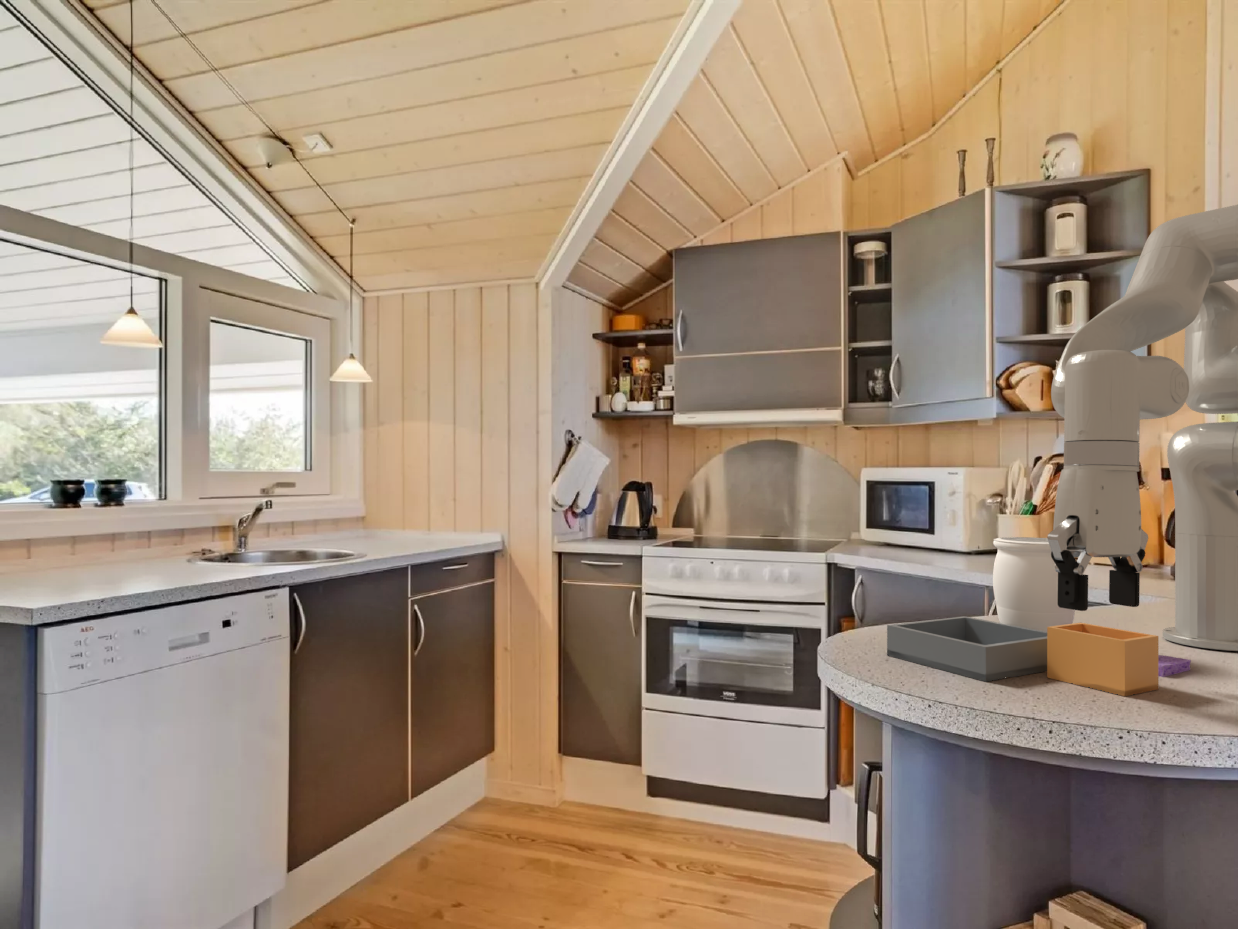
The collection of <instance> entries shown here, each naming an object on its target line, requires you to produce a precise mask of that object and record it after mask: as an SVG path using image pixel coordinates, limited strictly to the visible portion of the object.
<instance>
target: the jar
mask: <svg viewBox="0 0 1238 929" xmlns="http://www.w3.org/2000/svg"><path fill="white" fill-rule="evenodd" d="M992 540H993V541H992V544H993V546H994V547H995V548H996V549H997V553H996V555H995V558H994V564H993V568H992V569H993V570H992V572H993V573H992V586H993V588H992V589H993V596H994V600H995V605H996V608H995V609H996V612H997V613H996V614H997V617H998V620H999V623H1003V624H1008V625H1013V626H1018V627H1024V628H1029V629H1034V630H1039V631H1045V632H1047V627H1051V626H1058V625H1066V624H1073V623H1074V620H1075V611H1076V610H1072V609H1066V608H1060V607H1059V606H1058V572H1056V571H1055V562H1054V561H1053V559H1052V557H1051V552H1052V551H1051V549H1050V546H1049V542H1048V539H1047V537H1026V536H1022V537H1021V536H1020V537H1019V536H1016V537H1015V536H1014V537H1013V536H1011V537H1010V536H1008V537H1005V536H1004V537H997V538H993V539H992Z"/></svg>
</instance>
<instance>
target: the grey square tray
mask: <svg viewBox="0 0 1238 929" xmlns="http://www.w3.org/2000/svg"><path fill="white" fill-rule="evenodd" d="M886 633H887V634H886V656H887V657H888V656H889V657H891V658H895V659H900V660H902V661H907V662H910V663H915V664H918V665H921V666H925V667H930V668H933V669H936V670H941V671H944V672H948V673H952V674H956V675H960V676H963V677H965V678H966V677H967V678H970V679H975V680H978V681H981V682H993V681H997V680H998V679H999V680H1003V679H1002V678H1004V679H1006V678H1005V677H1010V678H1014V677H1020V676H1025V675H1026V676H1027V675H1033V674H1038V673H1044V672H1047V632H1045V631H1039V630H1034V629H1029V628H1024V627H1018V626H1013V625H1008V624H1003V623H1000V622H996V621H991V620H987V619H981V618H976V617H971V616H966V615H965V616H955V617H948V618H947V617H946V618H938V619H929V620H928V619H927V620H919V621H911V622H901V623H893V624H887V626H886ZM992 680H993V681H992ZM999 680H998V681H999Z"/></svg>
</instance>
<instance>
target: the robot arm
mask: <svg viewBox="0 0 1238 929" xmlns="http://www.w3.org/2000/svg"><path fill="white" fill-rule="evenodd" d="M1139 256H1140V257H1138V258H1139V259H1138V261H1137V264H1136V266H1135V269H1134V271H1133V273H1132V277H1131V279H1130V282H1129V284H1128V286H1127V289H1126V292H1125V293H1124V296H1122V297H1121V298H1120V299H1118V300H1117V301H1115V302H1113V303H1112V304H1110V305H1109V306H1107V307H1105V308H1104V309H1103V310H1102V311H1100V312H1099V313H1098V314H1097V315H1095V316H1094V317H1093V318H1092V319H1090V320H1089V321H1088V322H1086V323H1085V324H1084V325H1082V326H1081V327H1080V328H1079V329H1078V330H1077V331H1076V332H1075V333H1073V335H1072V336H1071V338H1070V339H1069V340H1068V342H1067V343H1066V345H1065V347H1064V349H1063V352H1062V354H1061V357H1060V359H1059V361H1058V364H1057V366H1056V367H1055V372H1054V374H1053V377H1052V378H1053V379H1052V383H1051V389H1050V390H1051V391H1050V396H1051V403H1052V406H1053V408H1054V410H1055V411H1056V413H1057V414H1058V415H1059V416H1060V417H1061V418H1063V419H1064V424H1063V425H1064V426H1063V428H1064V429H1063V430H1064V432H1063V433H1064V434H1063V438H1064V439H1063V469H1061V471H1060V473H1059V474H1060V475H1059V479H1058V484H1057V488H1056V496H1055V505H1054V512H1053V513H1054V514H1053V525H1052V526H1053V527H1052V528H1053V529H1052V531H1050V532H1049V533H1048V534H1047V537H1046V538H1047V539H1048V542H1049V546H1050V549H1051V551H1052V552H1051V557H1052V559H1053V561H1054V562H1055V571H1056V572H1058V606H1059V607H1060V608H1066V609H1072V610H1075V611H1081V612H1085V611H1087V610H1088V608H1089V598H1088V597H1089V574H1084V573H1085V571H1086V569H1087V567H1088V565H1089V564H1090V562H1091V559H1092V558H1108V559H1109V562H1110V564H1111V565H1112V568H1113V569H1109V572H1108V573H1109V578H1108V579H1109V580H1108V585H1109V586H1108V588H1109V589H1108V601H1109V603H1110V604H1111V605H1117V606H1123V607H1130V608H1131V607H1132V608H1137V607H1139V605H1140V585H1141V582H1140V579H1141V577H1140V576H1141V575H1140V574H1141V572H1142V571H1143V563H1142V562H1143V561H1144V559H1145V557H1146V551H1145V550H1146V547H1147V545H1148V541H1149V534H1148V533H1147V532H1145V531H1144V530H1143V529H1142V510H1141V508H1142V506H1141V496H1140V485H1139V484H1140V483H1139V479H1138V478H1139V477H1138V472H1140V429H1141V428H1140V423H1141V422H1140V420H1154V419H1161V418H1162V419H1163V418H1167V417H1168V416H1172V415H1173V414H1176V413H1177V412H1178V411H1180V409H1181V408H1182V407H1183V406H1184V405H1186V406H1187V407H1188V409H1190V410H1192V411H1194V412H1196V413H1199V414H1206V415H1207V414H1208V415H1209V414H1210V415H1231V414H1232V415H1233V414H1238V290H1236V289H1234V288H1233V287H1232V286H1230V285H1229V284H1227V283H1226V282H1227V281H1228V282H1230V281H1235V280H1238V204H1234V205H1229V206H1226V207H1225V206H1224V207H1220V208H1216V209H1211V210H1206V211H1202V212H1201V211H1200V212H1197V213H1192V214H1191V213H1190V214H1187V215H1182V216H1178V217H1175V218H1172V219H1170V220H1167V221H1165V222H1162V223H1161V224H1159V225H1158V226H1156V227H1155V228H1154V229H1153V230H1152V231H1151V232H1150V234H1149V235H1148V237H1147V239H1146V240H1145V243H1144V246H1143V248H1142V250H1141V253H1140V255H1139ZM1183 330H1184V353H1183V354H1184V355H1183V357H1184V358H1183V367H1182V365H1180V364H1179V362H1177V361H1176V360H1173V359H1172V358H1170V357H1167V356H1162V355H1136V354H1135V353H1133V351H1136V350H1138V349H1141V348H1144V347H1146V346H1149V345H1151V344H1154V343H1157V342H1159V341H1162V340H1164V339H1165V338H1168V337H1170V336H1173V335H1174V334H1177V333H1179V332H1181V331H1183ZM1166 450H1167V451H1166V453H1167V454H1166V456H1167V463H1168V467H1169V471H1170V472H1169V473H1170V478H1171V483H1172V490H1173V497H1174V498H1173V499H1174V517H1175V518H1174V520H1175V521H1174V522H1175V523H1174V524H1175V526H1174V528H1175V529H1174V534H1175V535H1174V537H1175V538H1174V539H1175V540H1174V550H1175V551H1174V552H1175V553H1174V556H1175V557H1174V558H1175V560H1174V565H1175V566H1174V567H1175V568H1174V574H1175V575H1174V576H1175V577H1174V579H1175V580H1174V581H1175V582H1174V584H1175V585H1174V594H1175V596H1174V597H1175V598H1174V619H1175V620H1174V623H1175V625H1174V626H1171V627H1169V626H1168V627H1165V628H1163V629H1162V638H1164V639H1165V640H1167V641H1169V642H1173V643H1175V644H1180V645H1185V646H1190V647H1194V648H1202V649H1210V650H1218V651H1226V652H1227V651H1231V652H1238V495H1237V493H1236V492H1235V491H1238V421H1221V422H1203V423H1197V424H1191V425H1187V426H1185V427H1183V428H1181V429H1179V430H1177V431H1176V432H1175V433H1173V435H1172V436H1171V437H1170V439H1169V441H1168V443H1167V449H1166ZM1076 558H1077V559H1076Z"/></svg>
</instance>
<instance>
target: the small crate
mask: <svg viewBox="0 0 1238 929" xmlns="http://www.w3.org/2000/svg"><path fill="white" fill-rule="evenodd" d="M1158 655H1159V635H1156V634H1149V633H1144V632H1138V631H1132V630H1126V629H1120V628H1114V627H1108V626H1102V625H1097V624H1092V623H1087V622H1075V623H1074V622H1073V623H1072V624H1066V625H1058V626H1051V627H1047V671H1046V673H1047V674H1046V677H1047V678H1048V679H1052V680H1056V681H1060V682H1064V683H1067V684H1068V683H1069V684H1071V683H1073V684H1072V685H1077V686H1081V687H1084V688H1088V687H1090V688H1089V689H1092V688H1093V690H1096V689H1097V691H1100V690H1102V691H1101V692H1104V691H1105V693H1108V692H1109V693H1108V694H1112V693H1113V694H1114V695H1116V694H1118V696H1120V697H1129V696H1134V695H1133V694H1135V695H1138V694H1144V693H1149V692H1153V691H1158V690H1159V676H1158ZM1152 690H1153V691H1152Z"/></svg>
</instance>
